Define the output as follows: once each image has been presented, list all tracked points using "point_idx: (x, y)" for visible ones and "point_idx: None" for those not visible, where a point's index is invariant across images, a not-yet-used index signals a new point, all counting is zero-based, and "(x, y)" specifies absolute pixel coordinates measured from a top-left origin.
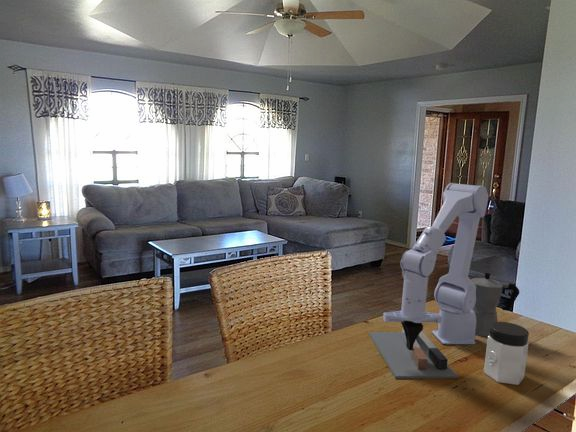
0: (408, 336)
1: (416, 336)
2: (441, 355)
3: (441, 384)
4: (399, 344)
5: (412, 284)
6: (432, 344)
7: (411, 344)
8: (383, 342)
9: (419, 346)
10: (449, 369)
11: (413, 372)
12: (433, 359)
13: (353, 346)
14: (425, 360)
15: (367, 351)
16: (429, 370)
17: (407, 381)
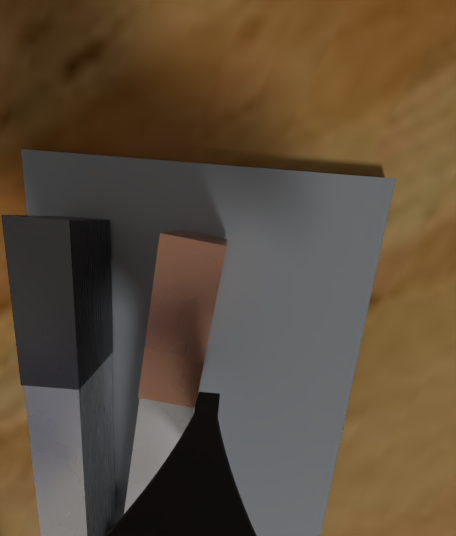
0: (239, 503)
1: (154, 491)
2: (28, 279)
3: (151, 92)
4: None
5: None
6: (38, 432)
7: (207, 421)
8: (283, 508)
9: (139, 416)
10: None
11: (268, 208)
12: (100, 296)
13: (432, 493)
14: (177, 234)
15: (389, 446)
16: (164, 221)
17: (331, 144)
